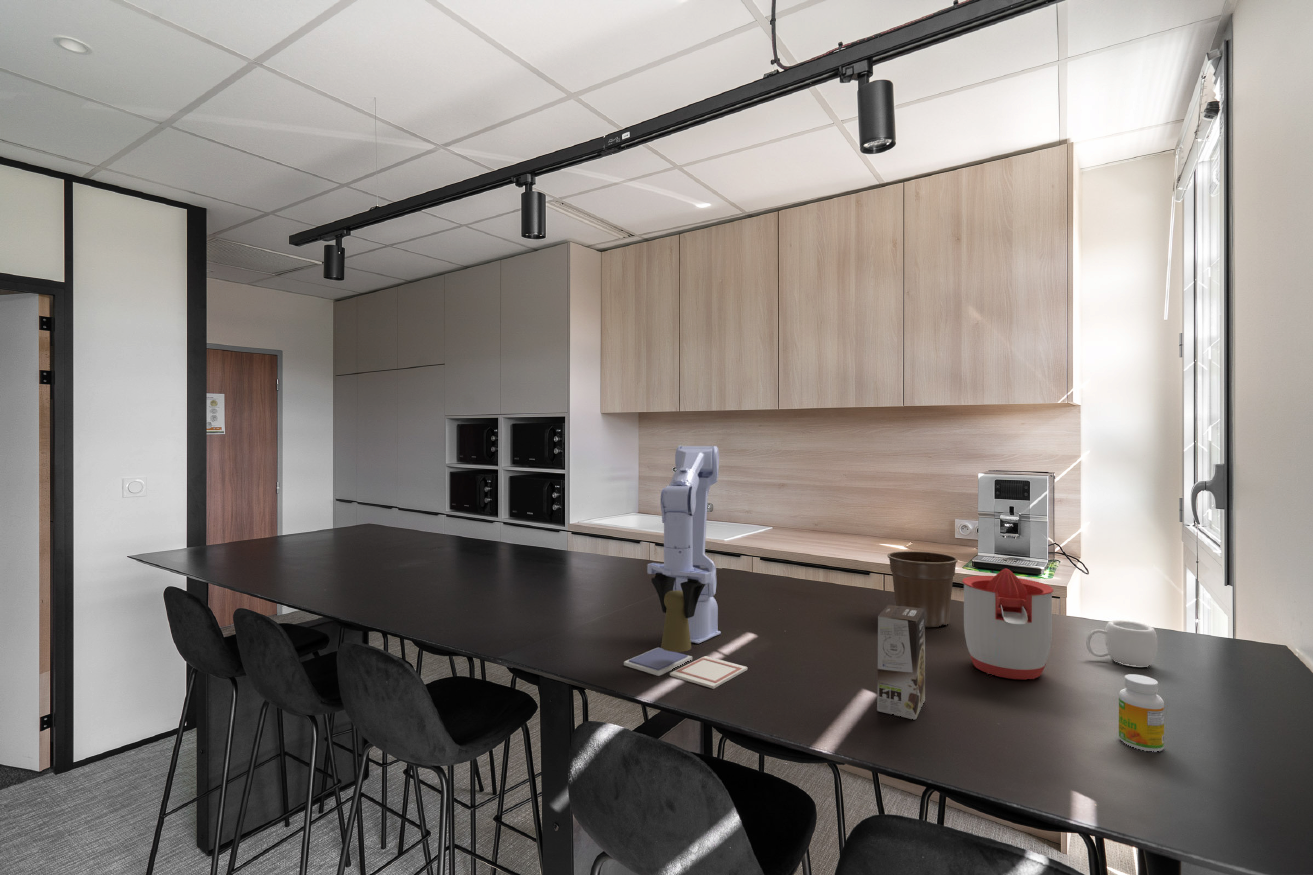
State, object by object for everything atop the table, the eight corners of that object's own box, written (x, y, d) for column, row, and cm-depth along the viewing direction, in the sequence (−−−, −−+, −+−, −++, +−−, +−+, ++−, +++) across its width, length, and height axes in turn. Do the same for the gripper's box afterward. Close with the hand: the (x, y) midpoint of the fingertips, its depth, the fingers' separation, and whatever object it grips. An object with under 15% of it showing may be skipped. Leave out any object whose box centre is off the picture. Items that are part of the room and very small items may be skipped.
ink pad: (658, 650, 134) (658, 645, 134) (692, 659, 128) (692, 655, 128) (623, 665, 125) (623, 660, 125) (658, 675, 120) (658, 670, 120)
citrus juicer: (968, 682, 117) (968, 575, 117) (958, 652, 133) (958, 558, 133) (1065, 694, 111) (1065, 582, 111) (1042, 661, 127) (1042, 563, 127)
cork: (688, 653, 121) (689, 595, 121) (657, 650, 122) (659, 593, 122) (693, 643, 126) (694, 589, 127) (664, 640, 128) (665, 587, 128)
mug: (1146, 659, 129) (1146, 621, 129) (1165, 673, 121) (1165, 633, 121) (1079, 652, 133) (1079, 615, 133) (1093, 666, 125) (1093, 627, 125)
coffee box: (917, 721, 101) (917, 621, 101) (875, 711, 104) (876, 615, 104) (926, 700, 108) (926, 607, 108) (887, 692, 112) (887, 602, 112)
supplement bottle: (1109, 735, 96) (1109, 672, 96) (1142, 734, 96) (1142, 671, 96) (1139, 753, 90) (1139, 686, 90) (1173, 752, 91) (1174, 685, 91)
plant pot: (881, 610, 165) (881, 549, 165) (945, 612, 163) (945, 551, 163) (895, 629, 149) (896, 561, 149) (967, 632, 147) (967, 563, 147)
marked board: (705, 658, 129) (705, 655, 129) (747, 669, 123) (747, 666, 123) (669, 675, 120) (669, 672, 120) (713, 688, 114) (713, 685, 114)
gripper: (637, 544, 126) (637, 611, 126) (695, 553, 117) (695, 625, 117) (659, 540, 132) (659, 604, 132) (717, 548, 122) (717, 617, 122)
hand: (678, 614), depth 125 cm, fingers closed on cork, 5 cm apart
